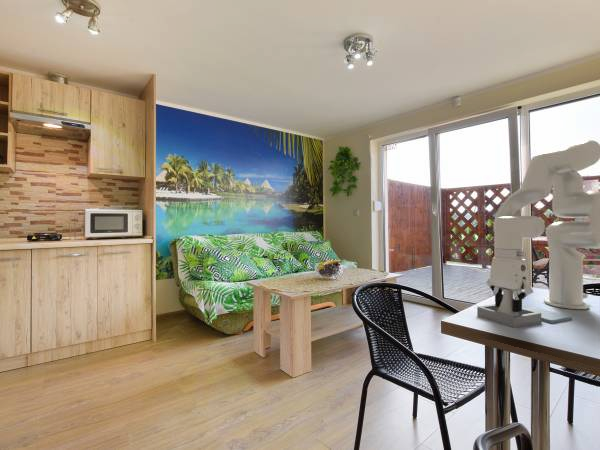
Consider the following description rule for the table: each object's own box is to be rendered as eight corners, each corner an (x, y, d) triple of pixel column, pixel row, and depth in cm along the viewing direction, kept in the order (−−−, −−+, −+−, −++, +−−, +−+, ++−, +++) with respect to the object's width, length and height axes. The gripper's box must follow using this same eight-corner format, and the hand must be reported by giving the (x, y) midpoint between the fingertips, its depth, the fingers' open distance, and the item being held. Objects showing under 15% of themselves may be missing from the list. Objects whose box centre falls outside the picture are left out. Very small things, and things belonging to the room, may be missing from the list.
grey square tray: (503, 311, 106) (503, 302, 106) (541, 322, 94) (541, 313, 94) (477, 315, 102) (477, 306, 101) (513, 327, 90) (514, 317, 90)
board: (538, 310, 106) (538, 308, 106) (571, 319, 96) (571, 316, 96) (518, 314, 102) (518, 311, 102) (551, 323, 93) (551, 320, 93)
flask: (526, 323, 93) (526, 291, 93) (501, 321, 95) (500, 291, 95) (514, 315, 101) (514, 286, 100) (491, 314, 102) (491, 285, 102)
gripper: (544, 256, 91) (544, 315, 91) (491, 251, 107) (491, 301, 107) (527, 257, 88) (527, 318, 88) (476, 252, 104) (476, 303, 104)
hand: (508, 308), depth 98 cm, fingers closed on flask, 5 cm apart
